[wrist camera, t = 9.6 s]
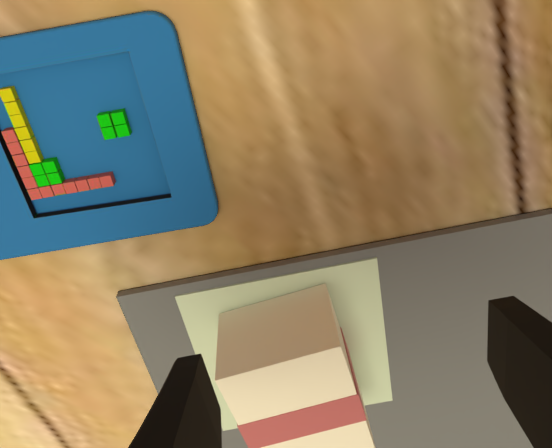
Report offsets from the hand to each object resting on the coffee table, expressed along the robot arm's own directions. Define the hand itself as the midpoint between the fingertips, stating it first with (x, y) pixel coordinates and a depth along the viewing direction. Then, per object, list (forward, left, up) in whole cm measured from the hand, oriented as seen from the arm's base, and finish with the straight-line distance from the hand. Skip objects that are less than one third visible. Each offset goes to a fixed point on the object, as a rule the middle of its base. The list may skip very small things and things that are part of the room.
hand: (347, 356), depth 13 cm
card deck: (+2, +8, -9) cm, 12 cm away
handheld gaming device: (+11, -4, -10) cm, 15 cm away
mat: (-1, +11, -9) cm, 15 cm away
